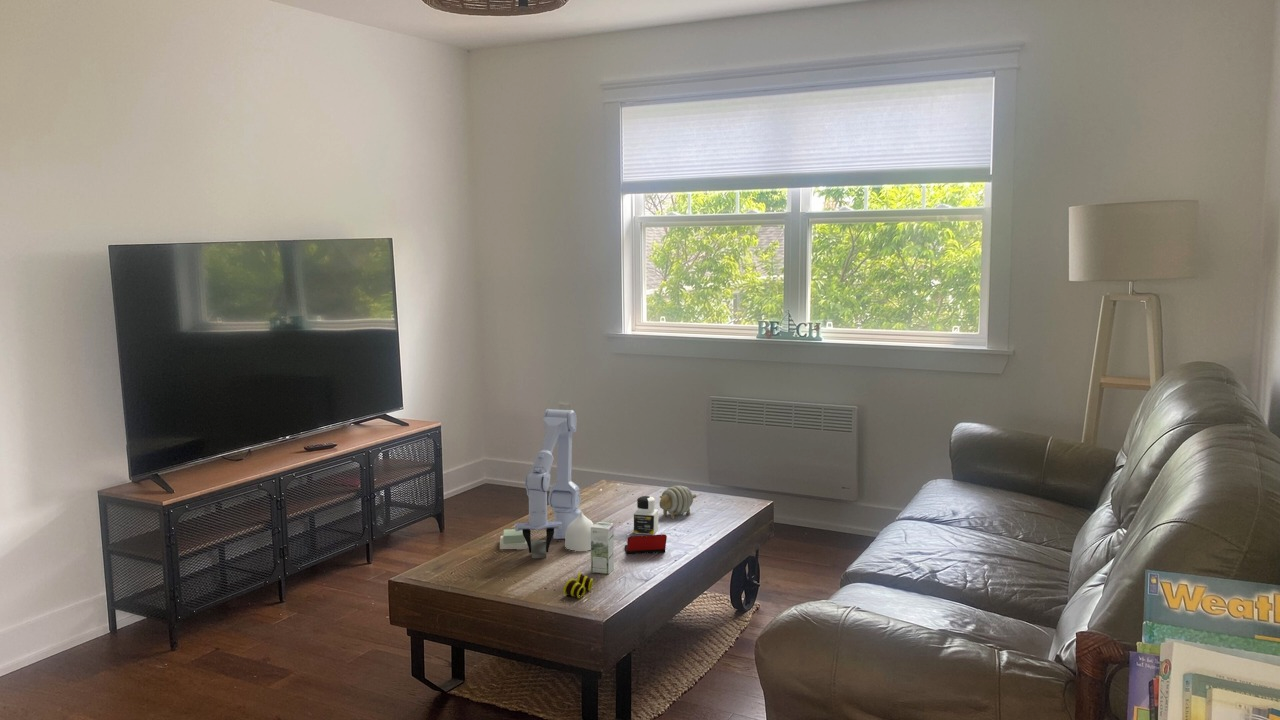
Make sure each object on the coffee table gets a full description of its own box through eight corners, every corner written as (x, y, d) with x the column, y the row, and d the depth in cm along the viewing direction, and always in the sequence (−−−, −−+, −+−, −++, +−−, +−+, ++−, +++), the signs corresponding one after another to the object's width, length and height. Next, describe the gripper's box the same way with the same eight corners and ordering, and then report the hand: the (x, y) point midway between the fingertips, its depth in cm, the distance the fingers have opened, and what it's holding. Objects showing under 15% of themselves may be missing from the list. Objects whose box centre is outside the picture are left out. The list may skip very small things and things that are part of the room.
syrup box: (614, 568, 272) (614, 522, 270) (608, 575, 266) (608, 527, 264) (596, 566, 273) (596, 520, 272) (590, 573, 268) (589, 526, 266)
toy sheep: (651, 516, 325) (651, 487, 324) (683, 507, 337) (683, 479, 335) (671, 523, 318) (671, 492, 316) (704, 513, 329) (704, 484, 328)
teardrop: (577, 539, 300) (577, 504, 299) (604, 544, 295) (604, 509, 293) (557, 548, 291) (557, 512, 290) (586, 554, 285) (585, 517, 284)
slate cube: (545, 553, 286) (545, 540, 285) (546, 558, 281) (545, 544, 281) (531, 554, 285) (531, 540, 285) (531, 559, 281) (531, 545, 280)
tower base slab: (528, 541, 299) (527, 534, 299) (527, 550, 290) (527, 543, 290) (500, 543, 298) (500, 535, 298) (499, 551, 289) (499, 544, 289)
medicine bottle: (633, 533, 306) (633, 499, 304) (638, 527, 313) (638, 494, 311) (653, 535, 304) (653, 500, 303) (658, 528, 311) (658, 495, 310)
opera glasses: (578, 603, 247) (581, 586, 246) (561, 597, 249) (564, 580, 248) (593, 591, 256) (596, 575, 255) (577, 585, 258) (579, 569, 257)
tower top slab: (525, 536, 298) (525, 528, 297) (525, 542, 291) (525, 535, 290) (504, 536, 297) (503, 529, 296) (503, 543, 290) (503, 535, 289)
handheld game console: (661, 546, 293) (661, 524, 292) (667, 557, 283) (667, 534, 282) (623, 548, 292) (623, 525, 291) (628, 559, 281) (627, 536, 280)
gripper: (514, 514, 277) (515, 556, 278) (561, 512, 278) (562, 554, 280) (515, 508, 284) (515, 549, 285) (560, 506, 285) (561, 547, 287)
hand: (538, 551), depth 283 cm, fingers open, 5 cm apart
